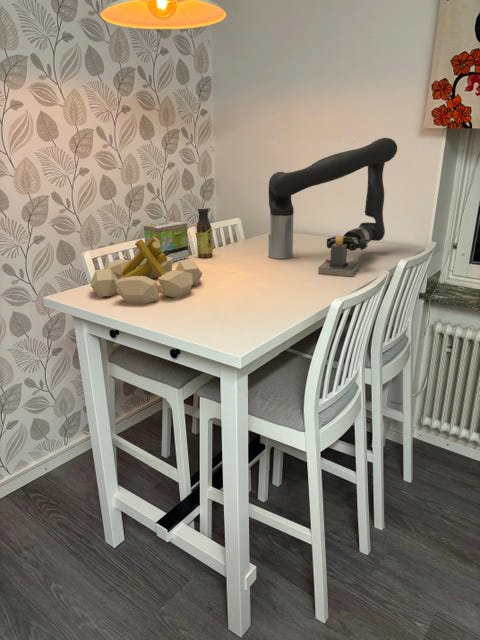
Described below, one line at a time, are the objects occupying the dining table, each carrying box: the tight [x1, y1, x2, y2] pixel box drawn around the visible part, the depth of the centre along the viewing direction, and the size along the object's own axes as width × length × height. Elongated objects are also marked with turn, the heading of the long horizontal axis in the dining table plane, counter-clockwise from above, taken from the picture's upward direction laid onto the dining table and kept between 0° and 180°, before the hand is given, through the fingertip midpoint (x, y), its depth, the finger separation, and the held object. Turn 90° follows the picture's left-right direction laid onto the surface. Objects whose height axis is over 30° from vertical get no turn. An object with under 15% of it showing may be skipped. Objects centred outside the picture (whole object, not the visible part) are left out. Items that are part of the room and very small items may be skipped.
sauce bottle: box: [195, 207, 213, 259], centre depth 200 cm, size 7×6×20 cm
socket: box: [317, 258, 360, 278], centre depth 177 cm, size 12×12×3 cm
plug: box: [330, 235, 348, 267], centre depth 176 cm, size 5×5×12 cm
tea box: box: [143, 220, 189, 262], centre depth 197 cm, size 15×10×15 cm
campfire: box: [90, 236, 203, 305], centre depth 160 cm, size 35×34×17 cm
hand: (339, 246), depth 174 cm, fingers open, 8 cm apart
